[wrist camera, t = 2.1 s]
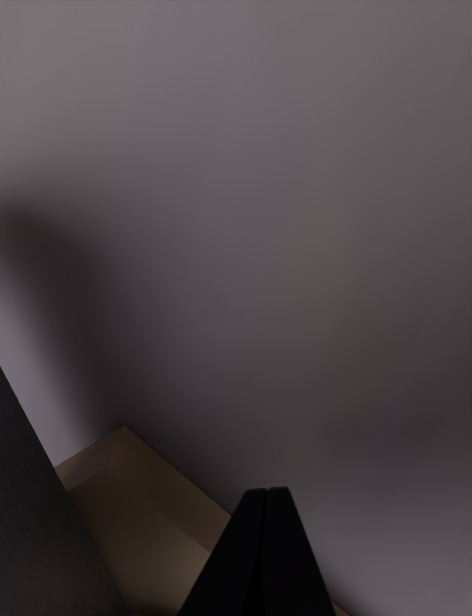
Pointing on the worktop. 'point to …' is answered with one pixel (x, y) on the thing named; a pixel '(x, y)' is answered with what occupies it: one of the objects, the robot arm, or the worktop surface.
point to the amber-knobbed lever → (44, 532)
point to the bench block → (144, 520)
